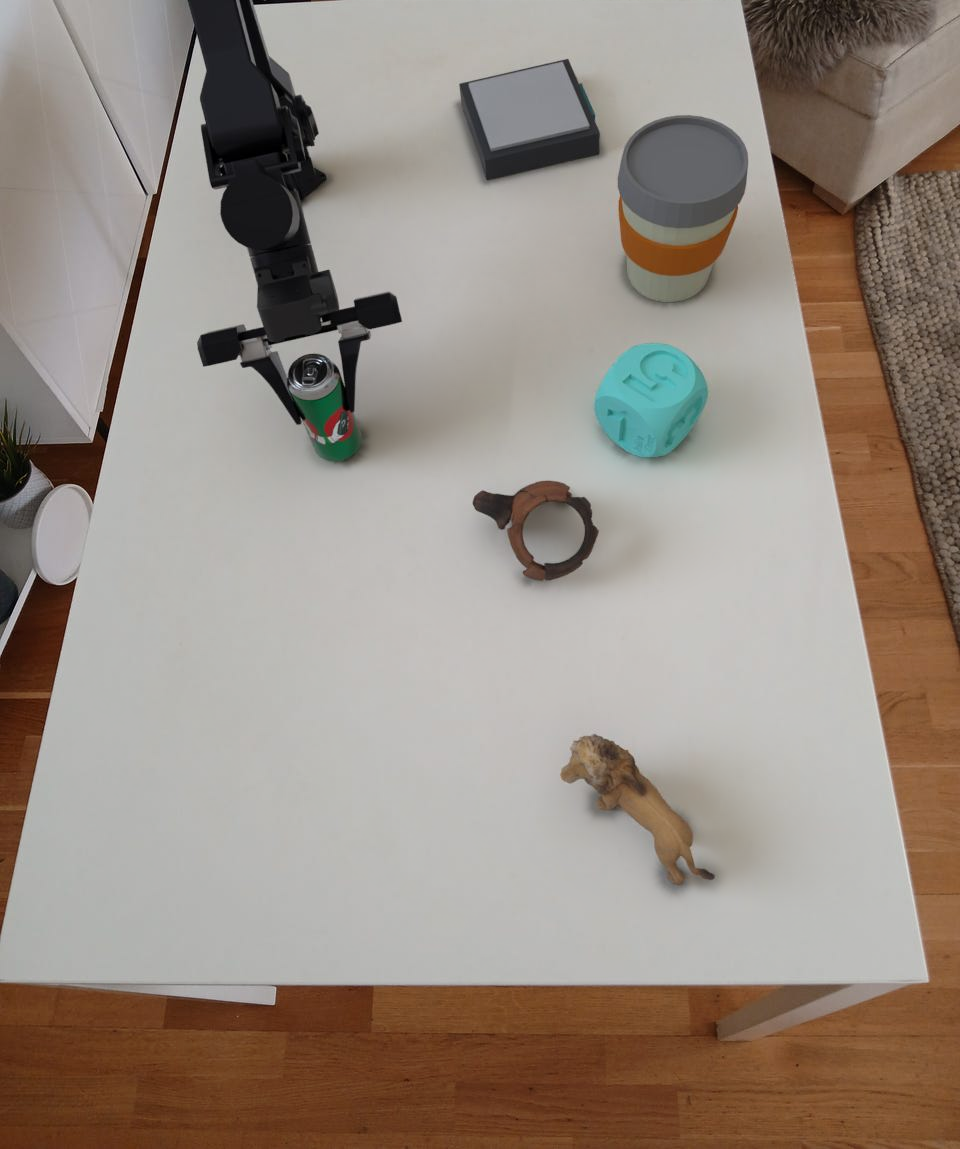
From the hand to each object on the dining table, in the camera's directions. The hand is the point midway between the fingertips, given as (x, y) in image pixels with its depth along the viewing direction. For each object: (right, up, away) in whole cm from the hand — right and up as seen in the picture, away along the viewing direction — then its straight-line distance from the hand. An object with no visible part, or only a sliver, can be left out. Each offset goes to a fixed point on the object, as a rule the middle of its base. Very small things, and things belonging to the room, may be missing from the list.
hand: (325, 418), depth 88 cm
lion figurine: (+28, -36, -12) cm, 47 cm away
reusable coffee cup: (+36, +19, +13) cm, 42 cm away
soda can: (0, -2, +7) cm, 7 cm away
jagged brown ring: (+20, -12, 0) cm, 23 cm away
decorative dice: (+32, 0, +5) cm, 32 cm away
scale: (+21, +40, +24) cm, 51 cm away
